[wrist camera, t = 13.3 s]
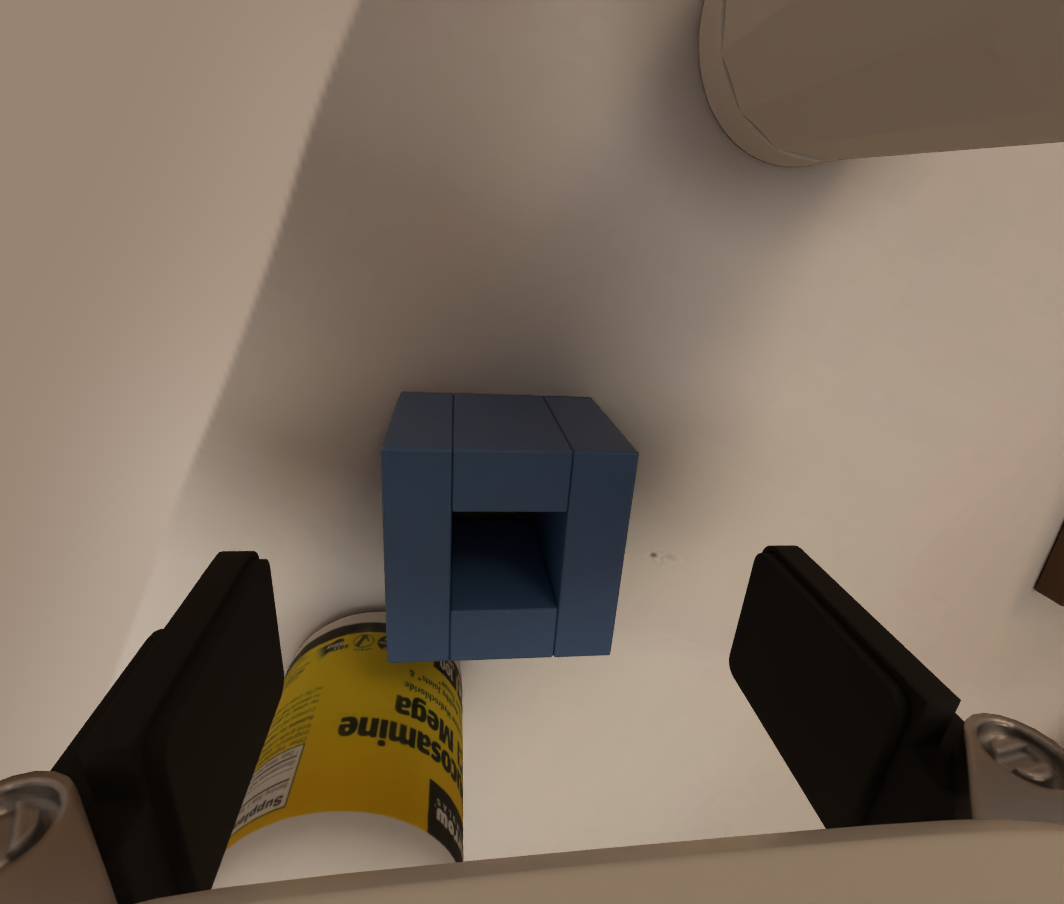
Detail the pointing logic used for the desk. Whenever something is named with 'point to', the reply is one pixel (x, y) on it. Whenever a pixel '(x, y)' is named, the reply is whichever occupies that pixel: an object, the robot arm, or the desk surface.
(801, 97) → the cup
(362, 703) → the pill bottle
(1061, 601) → the dowel stand
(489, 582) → the collar block
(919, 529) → the desk surface
